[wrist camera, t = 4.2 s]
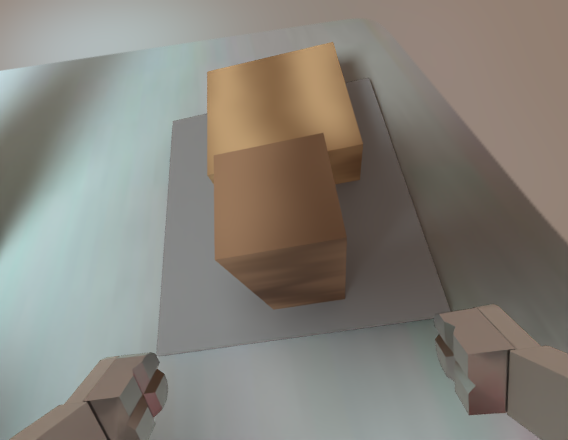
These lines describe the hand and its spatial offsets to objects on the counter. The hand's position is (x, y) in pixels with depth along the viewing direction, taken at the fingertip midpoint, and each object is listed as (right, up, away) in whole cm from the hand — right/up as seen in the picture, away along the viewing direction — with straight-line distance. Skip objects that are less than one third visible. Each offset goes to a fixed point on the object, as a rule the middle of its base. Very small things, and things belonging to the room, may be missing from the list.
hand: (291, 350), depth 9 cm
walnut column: (+1, +1, +11) cm, 11 cm away
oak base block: (0, +10, +16) cm, 19 cm away
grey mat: (0, +5, +15) cm, 16 cm away
